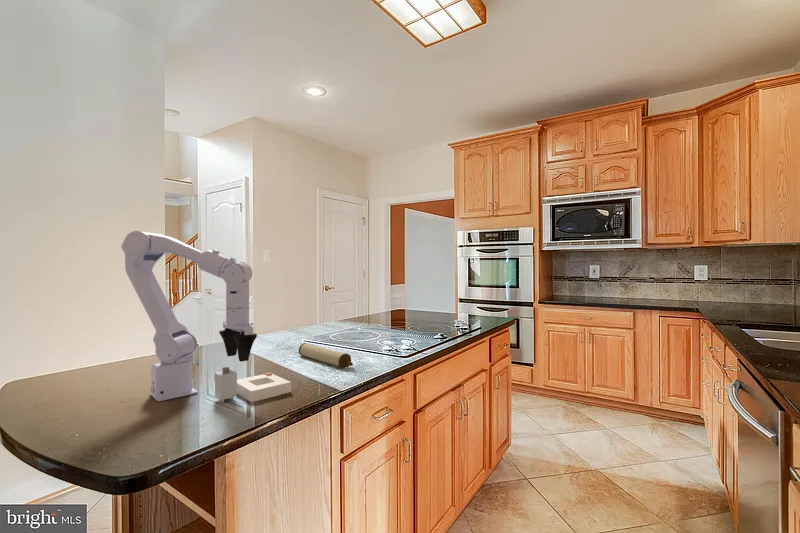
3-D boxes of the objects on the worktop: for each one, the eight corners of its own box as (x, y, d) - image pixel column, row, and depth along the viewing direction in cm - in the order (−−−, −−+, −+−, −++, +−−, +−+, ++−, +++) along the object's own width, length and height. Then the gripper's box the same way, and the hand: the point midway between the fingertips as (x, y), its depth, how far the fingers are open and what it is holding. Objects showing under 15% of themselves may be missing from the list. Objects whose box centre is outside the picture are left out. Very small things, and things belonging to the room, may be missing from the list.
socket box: (251, 402, 99) (251, 389, 99) (232, 390, 108) (232, 379, 108) (291, 392, 107) (291, 380, 107) (270, 382, 116) (270, 371, 116)
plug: (220, 404, 98) (220, 371, 98) (214, 400, 101) (214, 368, 101) (236, 400, 101) (236, 368, 101) (230, 396, 104) (230, 365, 103)
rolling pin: (293, 355, 150) (293, 342, 149) (306, 353, 153) (306, 340, 153) (345, 372, 127) (345, 357, 127) (358, 369, 131) (358, 354, 131)
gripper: (264, 308, 103) (264, 360, 103) (240, 304, 113) (240, 351, 114) (237, 310, 98) (237, 365, 98) (215, 306, 108) (215, 355, 109)
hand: (237, 358), depth 106 cm, fingers open, 7 cm apart
